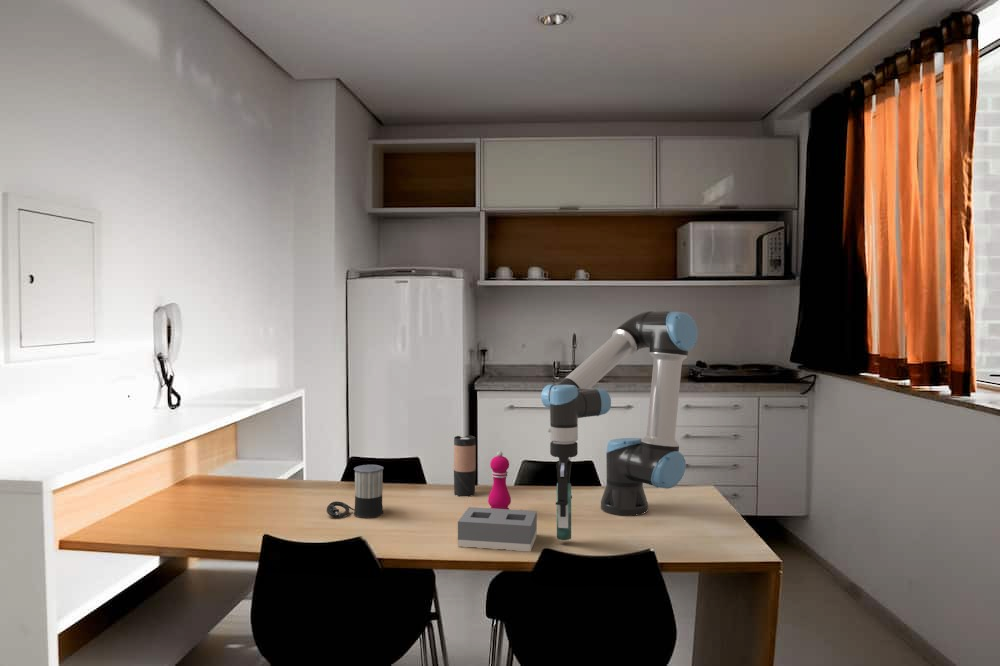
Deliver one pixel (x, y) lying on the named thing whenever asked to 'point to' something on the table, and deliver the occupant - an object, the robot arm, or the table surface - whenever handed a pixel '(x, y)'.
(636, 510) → the robot arm
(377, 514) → the milk frother
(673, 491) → the table surface
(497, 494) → the pepper mill
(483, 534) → the hole block
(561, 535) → the pin
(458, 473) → the travel mug
